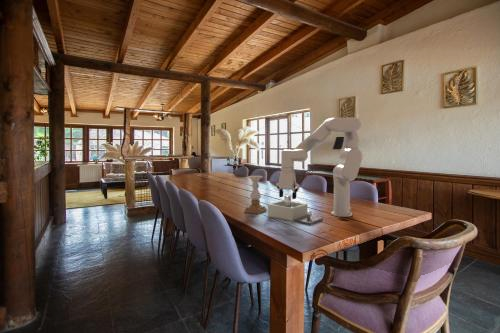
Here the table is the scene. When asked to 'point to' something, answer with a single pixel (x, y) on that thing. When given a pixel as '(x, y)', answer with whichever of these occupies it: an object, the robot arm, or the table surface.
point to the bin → (287, 211)
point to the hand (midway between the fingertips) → (287, 197)
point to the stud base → (308, 219)
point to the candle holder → (255, 197)
